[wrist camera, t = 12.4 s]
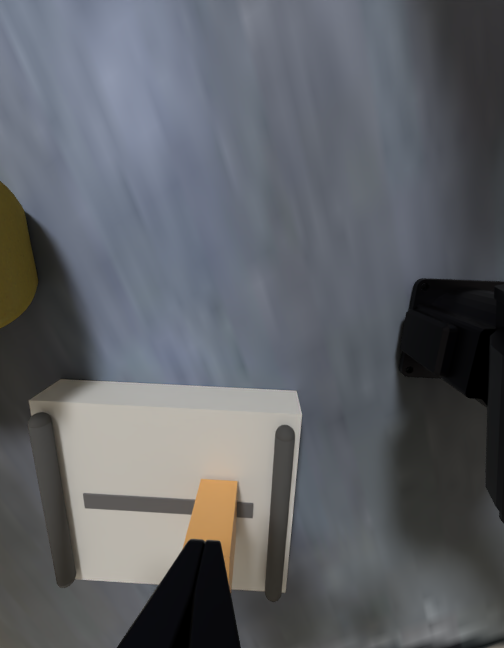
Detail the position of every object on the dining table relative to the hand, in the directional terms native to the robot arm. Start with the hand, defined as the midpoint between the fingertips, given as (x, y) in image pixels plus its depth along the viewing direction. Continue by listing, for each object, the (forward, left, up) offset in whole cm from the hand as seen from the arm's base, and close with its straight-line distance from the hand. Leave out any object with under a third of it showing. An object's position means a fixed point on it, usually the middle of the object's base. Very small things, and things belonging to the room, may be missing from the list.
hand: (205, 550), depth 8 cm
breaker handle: (+1, +9, -10) cm, 14 cm away
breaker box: (+4, +9, -13) cm, 17 cm away
